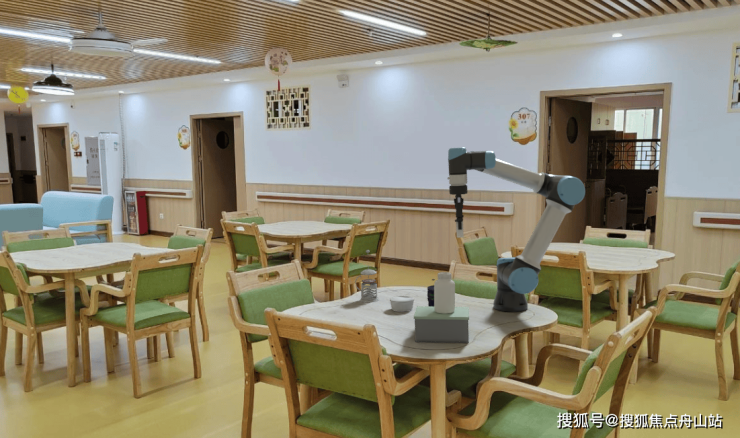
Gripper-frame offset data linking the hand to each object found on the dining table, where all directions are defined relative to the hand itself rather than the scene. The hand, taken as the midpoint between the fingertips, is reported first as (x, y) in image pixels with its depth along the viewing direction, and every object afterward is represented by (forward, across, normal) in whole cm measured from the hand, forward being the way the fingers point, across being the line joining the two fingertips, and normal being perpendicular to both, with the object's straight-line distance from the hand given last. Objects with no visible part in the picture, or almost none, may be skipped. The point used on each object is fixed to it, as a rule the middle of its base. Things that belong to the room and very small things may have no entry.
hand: (459, 235), depth 247 cm
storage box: (+36, +25, -8) cm, 45 cm away
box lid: (+27, +25, -8) cm, 38 cm away
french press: (+36, -33, -46) cm, 67 cm away
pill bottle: (+26, +25, -7) cm, 37 cm away
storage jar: (+36, +5, -10) cm, 38 cm away
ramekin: (+36, -16, -27) cm, 48 cm away
